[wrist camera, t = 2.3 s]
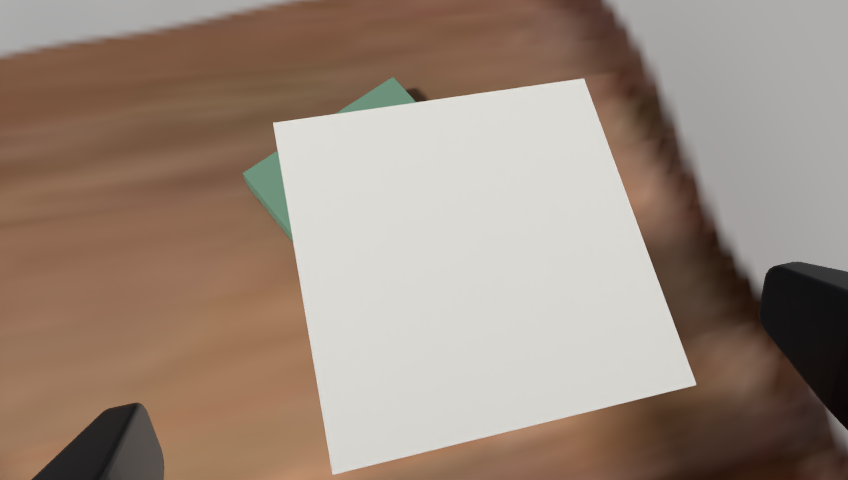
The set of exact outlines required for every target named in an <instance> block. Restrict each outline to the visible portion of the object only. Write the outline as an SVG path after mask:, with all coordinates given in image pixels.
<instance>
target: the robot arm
mask: <svg viewBox="0 0 848 480" xmlns="http://www.w3.org/2000/svg"><path fill="white" fill-rule="evenodd" d="M759 320H760V323H761V326H762V328H763V329H764V331H765V332H766V333H767V334H768V336H769V337H770V338H771V339H772V341H773V342H774V343H775V344H776V346H777V347H778V348H779V349H780V351H781V352H782V353H783V354H784V356H785V357H786V358H787V359H788V361H789V362H790V363H791V364H792V366H793V367H794V368H795V369H796V371H797V372H798V373H799V374H800V376H801V377H802V378H803V379H804V380H805V382H806V383H807V384H808V385H809V387H810V388H811V389H812V390H813V392H814V393H815V394H816V395H817V397H818V398H819V399H820V400H821V401H822V403H823V404H824V405H825V406H826V407H827V409H828V410H829V411H830V412H831V413H832V414H833V415H834V416H835V417H836V418H837V419H838V421H839V422H840V423H841V424H842V425H843V426H844V427H845V428H846V429H847V430H848V272H846V271H842V270H836V269H832V268H827V267H822V266H817V265H812V264H808V263H803V262H791V263H787V264H782V265H778V266H774V267H772V268H770V269H769V270H768V272H767V273H766V276H765V281H764V286H763V291H762V297H761V302H760V308H759ZM32 480H164V459H163V454H162V450H161V447H160V444H159V442H158V439H157V436H156V434H155V431H154V428H153V426H152V423H151V420H150V418H149V415H148V413H147V410H146V409H145V407H144V406H143V405H142V404H140V403H132V404H127V405H123V406H118V407H113V408H109V409H107V410H105V411H104V412H103V413H101V414H100V415H99V416H98V417H97V418H96V419H95V420H94V421H93V422H92V423H91V424H90V425H89V426H88V427H86V428H85V429H84V430H83V431H82V432H81V433H80V434H79V435H78V436H77V437H76V438H75V439H74V440H73V441H72V442H71V443H70V444H69V445H68V446H66V447H65V448H64V449H63V450H62V451H61V452H60V453H59V454H58V455H57V456H56V457H55V458H54V459H53V460H52V461H51V462H50V463H49V464H47V465H46V466H45V467H44V468H43V469H42V470H41V471H40V472H39V473H38V474H37V475H36V476H35V477H34V478H33V479H32Z"/></svg>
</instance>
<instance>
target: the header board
mask: <svg viewBox="0 0 848 480" xmlns="http://www.w3.org/2000/svg"><path fill="white" fill-rule="evenodd" d="M409 103H416V102H415V100H414V99H413V98H412V97H411V96H410V95H409V94H408V93H407V92H406V91H405V90H404V88H403V87H402V86H401V85H400V84H399V83H398V82H397V81H396V80H395V79H394V78H393V77H392V78H391V79H389V80H387V81H386V82H384V83H383V84H381V85H380V86H378V87H376V88H375V89H373V90H372V91H370V92H369V93H367V94H366V95H364V96H362V97H361V98H359V99H358V100H356V101H355V102H353V103H351V104H350V105H348V106H347V107H345V108H344V109H342V110H341V111H339V112H337V113H336V114H339V113H346V112H353V111H360V110H367V109H374V108H381V107H388V106H395V105H402V104H409ZM243 176H244V178H245V181H246V183H247V186H248V187H249V188H250V190H251V191H252V192H253V193H254V195H255V196H256V197H257V198H258V200H259V201H260V202H261V203H262V205H263V206H264V207H265V208H266V210H267V211H268V212H269V213H270V215H271V216H272V217H273V218H274V220H275V221H276V222H277V223H278V225H279V226H280V227H281V228H282V230H283V231H284V232H285V233H286V234H287V236H288V237H289V238H290V239H291V241H292V242H293V237H292V231H291V226H290V220H289V214H288V208H287V202H286V196H285V190H284V184H283V178H282V172H281V166H280V161H279V155H278V151H277V152H275V153H273V154H272V155H270V156H269V157H267V158H266V159H264V160H262V161H261V162H259V163H258V164H256V165H255V166H253V167H252V168H250V169H248V170H247V171H245V172H244V173H243Z"/></svg>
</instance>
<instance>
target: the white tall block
mask: <svg viewBox="0 0 848 480" xmlns="http://www.w3.org/2000/svg"><path fill="white" fill-rule="evenodd" d="M273 125H274V131H275V137H276V143H277V149H278V155H279V161H280V166H281V172H282V178H283V184H284V190H285V196H286V202H287V208H288V214H289V220H290V226H291V231H292V237H293V243H294V249H295V255H296V261H297V267H298V273H299V279H300V285H301V291H302V296H303V302H304V308H305V314H306V320H307V326H308V332H309V338H310V344H311V350H312V356H313V361H314V367H315V373H316V379H317V385H318V391H319V397H320V403H321V409H322V415H323V420H324V426H325V432H326V438H327V444H328V450H329V456H330V462H331V468H332V474H333V475H334V474H338V473H342V472H346V471H350V470H354V469H358V468H362V467H366V466H370V465H374V464H378V463H383V462H387V461H391V460H395V459H399V458H403V457H407V456H411V455H415V454H419V453H423V452H427V451H431V450H435V449H439V448H443V447H447V446H451V445H456V444H460V443H464V442H468V441H472V440H476V439H480V438H484V437H488V436H492V435H496V434H500V433H504V432H508V431H512V430H516V429H520V428H524V427H529V426H533V425H537V424H541V423H545V422H549V421H553V420H557V419H561V418H565V417H569V416H573V415H577V414H581V413H585V412H589V411H593V410H597V409H602V408H606V407H610V406H614V405H618V404H622V403H626V402H630V401H634V400H638V399H642V398H646V397H650V396H654V395H658V394H662V393H666V392H670V391H675V390H679V389H683V388H687V387H691V386H695V385H696V382H695V379H694V376H693V374H692V371H691V368H690V366H689V363H688V360H687V357H686V355H685V352H684V349H683V347H682V344H681V341H680V338H679V336H678V333H677V330H676V328H675V325H674V322H673V319H672V317H671V314H670V311H669V309H668V306H667V303H666V300H665V298H664V295H663V292H662V290H661V287H660V284H659V281H658V279H657V276H656V273H655V271H654V268H653V265H652V262H651V260H650V257H649V254H648V252H647V249H646V246H645V243H644V241H643V238H642V235H641V233H640V230H639V227H638V224H637V222H636V219H635V216H634V214H633V211H632V208H631V205H630V203H629V200H628V197H627V195H626V192H625V189H624V186H623V184H622V181H621V178H620V176H619V173H618V170H617V167H616V165H615V162H614V159H613V157H612V154H611V151H610V148H609V146H608V143H607V140H606V138H605V135H604V132H603V129H602V127H601V124H600V121H599V119H598V116H597V113H596V110H595V108H594V105H593V102H592V100H591V97H590V94H589V91H588V89H587V86H586V83H585V81H584V79H577V80H570V81H563V82H556V83H549V84H542V85H535V86H528V87H521V88H514V89H507V90H500V91H493V92H486V93H479V94H472V95H465V96H458V97H451V98H444V99H437V100H430V101H423V102H416V103H409V104H402V105H395V106H388V107H381V108H374V109H367V110H360V111H353V112H346V113H339V114H332V115H325V116H318V117H311V118H304V119H297V120H291V121H284V122H277V123H273Z"/></svg>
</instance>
